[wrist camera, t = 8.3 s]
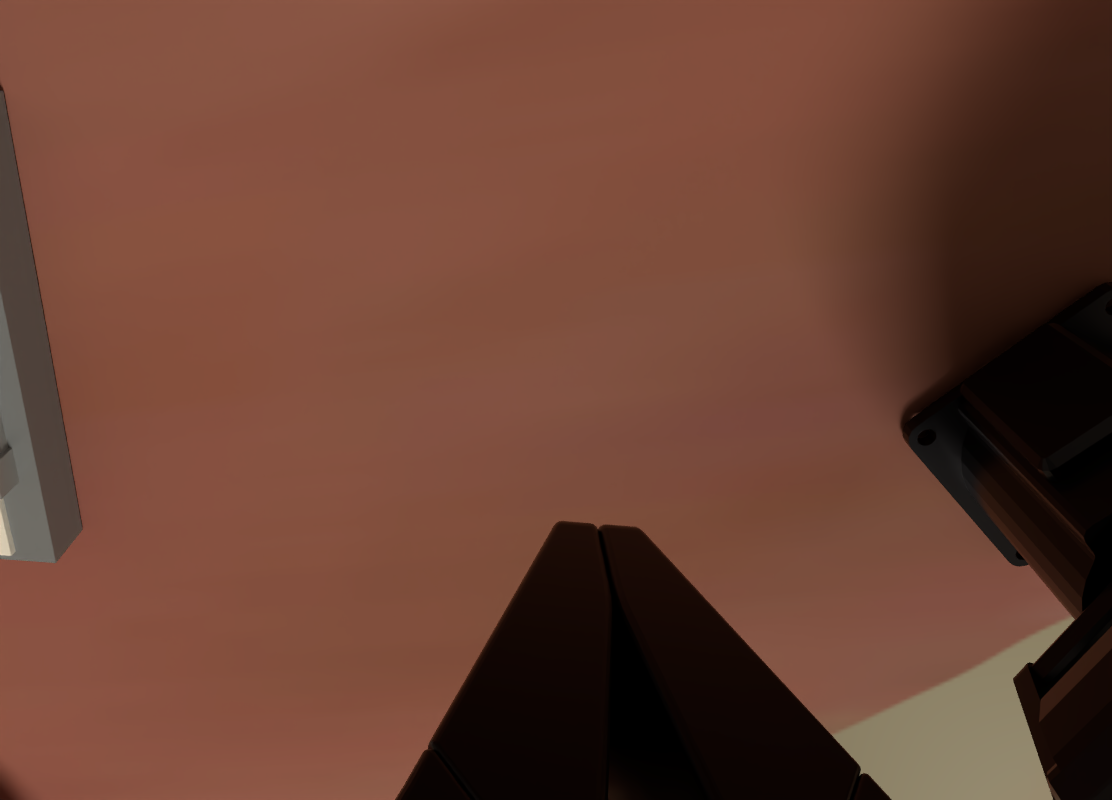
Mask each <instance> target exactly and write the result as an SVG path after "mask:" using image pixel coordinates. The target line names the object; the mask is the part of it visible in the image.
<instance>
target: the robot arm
mask: <svg viewBox="0 0 1112 800" xmlns="http://www.w3.org/2000/svg"><path fill="white" fill-rule="evenodd" d="M1111 299H1112V282H1107V283H1104V284H1102V285H1100V286H1098V287H1096V288H1095V289H1093V290H1092V291H1091V292H1089V293H1088V294H1086V295H1085V296H1084V297H1082V298H1081V299H1079V300H1078V301H1076V302H1075V303H1074V304H1072V305H1071V306H1069V307H1068V308H1067V309H1065V310H1064V311H1062V312H1061V313H1060V314H1058V315H1057V316H1055V317H1054V318H1053V319H1051V320H1050V321H1048V322H1047V323H1045V324H1044V325H1042V326H1041V327H1039V328H1038V329H1037V330H1035V331H1034V332H1032V333H1031V334H1030V335H1028V336H1027V337H1025V338H1024V339H1022V340H1021V341H1020V342H1018V343H1017V344H1015V345H1014V346H1013V347H1011V348H1010V349H1008V350H1007V351H1006V352H1004V353H1003V354H1001V355H1000V356H999V357H997V358H996V359H994V360H993V361H992V362H990V363H989V364H987V365H986V366H984V367H983V368H982V369H980V370H979V371H977V372H976V373H975V374H973V375H972V376H970V377H969V378H968V379H966V380H965V381H964V382H962V383H961V384H960V385H958V386H957V387H955V388H954V389H953V390H951V391H950V392H948V393H947V394H945V395H944V396H943V397H941V398H940V399H938V400H937V401H936V402H934V403H933V404H931V405H930V406H929V407H927V408H926V409H924V410H923V411H922V412H920V413H919V414H917V415H916V416H914V417H913V418H912V419H910V420H909V421H908V422H907V423H906V425H905V427H904V429H903V438H904V440H905V441H906V443H907V444H908V445H909V447H910V448H911V449H912V450H913V451H914V452H915V454H916V455H917V456H918V457H919V458H920V459H921V461H922V462H923V463H924V464H925V465H926V466H927V468H928V469H929V470H930V471H931V472H932V473H933V474H934V476H935V477H936V478H937V479H938V480H939V481H940V483H941V484H942V485H943V486H944V487H945V488H946V490H947V491H948V492H949V493H950V494H951V495H952V497H953V498H954V499H955V500H956V501H957V502H958V503H959V505H960V506H961V507H962V508H963V509H964V510H965V512H966V513H967V514H968V515H969V516H970V517H971V519H972V520H973V521H974V522H975V523H976V524H977V525H978V527H979V528H980V529H981V530H982V531H983V532H984V534H985V535H986V536H987V537H988V538H989V539H990V541H991V542H992V543H993V544H994V545H995V546H996V547H997V549H998V550H999V551H1000V552H1001V553H1002V554H1003V556H1004V557H1005V558H1006V559H1007V560H1008V561H1009V562H1010V563H1011V564H1012V565H1015V566H1025V565H1028V564H1029V565H1030V566H1031V568H1032V569H1033V570H1034V571H1035V572H1036V574H1037V575H1038V576H1039V577H1040V578H1041V580H1042V581H1043V582H1044V583H1045V584H1046V586H1047V587H1048V588H1049V589H1050V590H1051V592H1052V593H1053V594H1054V595H1055V596H1056V598H1057V599H1058V600H1059V601H1060V602H1061V603H1062V605H1063V606H1064V607H1065V608H1066V609H1067V611H1068V612H1069V613H1070V614H1071V615H1072V617H1073V618H1074V619H1075V620H1074V621H1073V622H1072V624H1071V625H1070V626H1069V627H1068V628H1067V629H1066V630H1065V631H1064V632H1063V633H1062V634H1061V635H1060V636H1059V637H1058V638H1057V640H1056V641H1055V642H1054V643H1053V644H1052V645H1051V646H1050V647H1049V648H1048V649H1047V650H1046V651H1045V652H1044V653H1043V654H1042V655H1041V657H1040V658H1039V659H1038V660H1037V661H1036V662H1035V663H1034V664H1033V663H1027V664H1026V665H1025V667H1024V668H1023V669H1022V670H1021V671H1020V672H1019V673H1018V674H1017V675H1016V676H1015V677H1014V678H1013V681H1014V684H1015V687H1016V690H1017V693H1018V696H1019V699H1020V702H1021V705H1022V708H1023V711H1024V714H1025V717H1026V720H1027V723H1028V726H1029V729H1030V732H1031V735H1032V738H1033V741H1034V744H1035V747H1036V749H1037V752H1038V756H1039V759H1040V762H1041V765H1042V768H1043V771H1044V773H1045V776H1046V779H1047V782H1048V785H1049V788H1050V791H1051V794H1052V797H1053V800H1112V306H1111V307H1110V308H1107V309H1105V307H1106V305H1107V303H1108V302H1109V301H1110V300H1111ZM924 430H930V431H929V433H928V434H927V435H926V436H925V437H922V438H918V435H919V434H920V433H921V432H922V431H924ZM860 771H861V768H860V766H859V765H858V763H857V762H856V761H855V760H854V759H853V758H852V757H851V756H850V755H849V754H848V753H847V751H846V750H845V749H844V748H843V747H842V746H841V745H840V744H839V743H838V742H837V741H836V740H835V739H834V737H833V736H832V735H831V734H830V733H829V732H828V731H827V730H826V729H825V728H824V727H823V725H822V724H821V723H820V722H819V721H818V720H817V719H816V718H815V717H814V716H813V715H812V714H811V713H810V711H809V710H808V709H807V708H806V707H805V706H804V705H803V704H802V703H801V702H800V701H799V700H798V698H797V697H796V696H795V695H794V694H793V693H792V692H791V691H790V690H789V689H788V688H787V687H786V685H785V684H784V683H783V682H782V681H781V680H780V679H779V678H778V677H777V676H776V675H775V674H774V673H773V671H772V670H771V669H770V668H769V667H768V666H767V665H766V664H765V663H764V662H763V661H762V660H761V658H760V657H759V656H758V655H757V654H756V653H755V652H754V651H753V650H752V649H751V648H750V647H749V645H748V644H747V643H746V642H745V641H744V640H743V639H742V638H741V637H740V636H739V635H738V634H737V633H736V631H735V630H734V629H733V628H732V627H731V626H730V625H729V624H728V623H727V622H726V621H725V620H724V618H723V617H722V616H721V615H720V614H719V613H718V612H717V611H716V610H715V609H714V608H713V607H712V605H711V604H710V603H709V602H708V601H707V600H706V599H705V598H704V597H703V596H702V595H701V594H700V593H699V591H698V590H697V589H696V588H695V587H694V586H693V585H692V584H691V583H690V582H689V581H688V580H687V578H686V577H685V576H684V575H683V574H682V573H681V572H680V571H679V570H678V569H677V568H676V567H675V565H674V564H673V563H672V562H671V561H670V560H669V559H668V558H667V557H666V556H665V555H664V554H663V552H662V551H661V550H660V549H659V548H658V547H657V546H656V545H655V544H654V543H653V542H652V541H651V540H650V538H649V537H648V536H647V535H646V534H645V533H644V532H643V531H642V530H641V529H639V528H637V527H630V526H617V525H602V526H600V527H599V529H597V527H596V526H595V525H593V524H591V523H579V522H567V521H559V522H557V523H556V524H555V525H554V527H553V528H552V530H551V532H550V534H549V535H548V537H547V539H546V540H545V542H544V544H543V546H542V547H541V549H540V551H539V553H538V554H537V556H536V558H535V560H534V561H533V563H532V565H531V567H530V568H529V570H528V572H527V574H526V575H525V577H524V579H523V580H522V582H521V584H520V586H519V587H518V589H517V591H516V593H515V594H514V596H513V598H512V600H511V601H510V603H509V605H508V607H507V608H506V610H505V612H504V614H503V615H502V617H501V619H500V620H499V622H498V624H497V626H496V627H495V629H494V631H493V633H492V634H491V636H490V638H489V640H488V641H487V643H486V645H485V647H484V648H483V650H482V652H481V654H480V655H479V657H478V659H477V660H476V662H475V664H474V666H473V667H472V669H471V671H470V673H469V674H468V676H467V678H466V680H465V681H464V683H463V685H462V687H461V688H460V690H459V692H458V694H457V695H456V697H455V699H454V700H453V702H452V704H451V706H450V707H449V709H448V711H447V713H446V714H445V716H444V718H443V720H442V721H441V723H440V725H439V727H438V728H437V730H436V732H435V734H434V735H433V737H432V739H431V741H430V742H429V745H428V749H427V750H425V751H424V752H423V753H422V755H421V757H420V759H419V760H418V762H417V764H416V766H415V767H414V769H413V771H412V772H411V774H410V776H409V778H408V779H407V781H406V783H405V785H404V786H403V788H402V789H401V791H400V793H399V794H398V796H397V797H396V799H395V800H891V799H890V797H889V796H888V795H887V794H886V793H885V792H884V791H883V790H882V789H881V788H880V787H879V786H878V784H877V783H876V782H875V781H874V780H873V779H872V778H871V777H870V776H869V775H868V774H865V773H863V774H861V775H860ZM859 775H860V776H859Z"/></svg>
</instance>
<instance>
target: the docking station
mask: <svg viewBox="0 0 1112 800" xmlns="http://www.w3.org/2000/svg"><path fill="white" fill-rule="evenodd" d="M82 530H83V529H82V524H81V518H80V513H79V507H78V502H77V496H76V491H75V485H74V480H73V474H72V469H71V463H70V457H69V452H68V446H67V441H66V435H65V430H64V424H63V419H62V413H61V408H60V402H59V397H58V391H57V386H56V380H55V375H54V369H53V364H52V358H51V352H50V347H49V341H48V336H47V330H46V325H45V319H44V314H43V308H42V303H41V297H40V292H39V286H38V281H37V275H36V270H35V264H34V259H33V253H32V247H31V242H30V236H29V231H28V225H27V220H26V214H25V209H24V203H23V198H22V192H21V187H20V181H19V176H18V170H17V165H16V159H15V154H14V148H13V142H12V137H11V131H10V126H9V120H8V115H7V109H6V104H5V98H4V93H3V91H1V90H0V559H9V560H23V561H37V562H51V563H56V562H57V561H58V560H59V558H60V557H61V556H62V555H63V553H64V552H65V551H66V550H67V548H68V547H69V546H70V545H71V543H72V542H73V541H74V540H75V538H76V537H77V536H78V535H79V533H80V532H81V531H82Z"/></svg>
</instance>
